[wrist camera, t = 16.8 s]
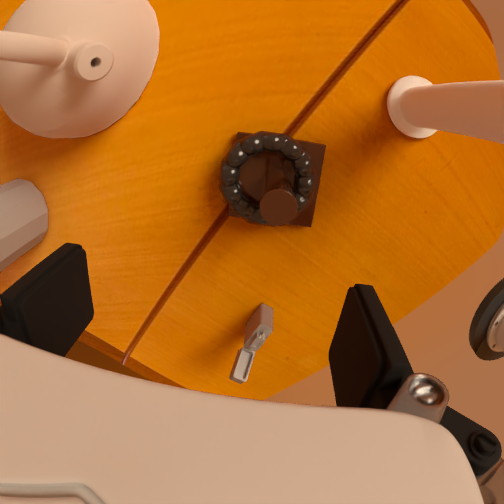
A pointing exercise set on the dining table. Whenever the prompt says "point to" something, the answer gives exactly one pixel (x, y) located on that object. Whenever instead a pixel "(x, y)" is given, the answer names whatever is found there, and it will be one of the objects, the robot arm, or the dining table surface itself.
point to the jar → (20, 219)
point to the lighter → (252, 342)
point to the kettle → (75, 63)
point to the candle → (448, 108)
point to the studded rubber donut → (252, 147)
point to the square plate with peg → (278, 184)
